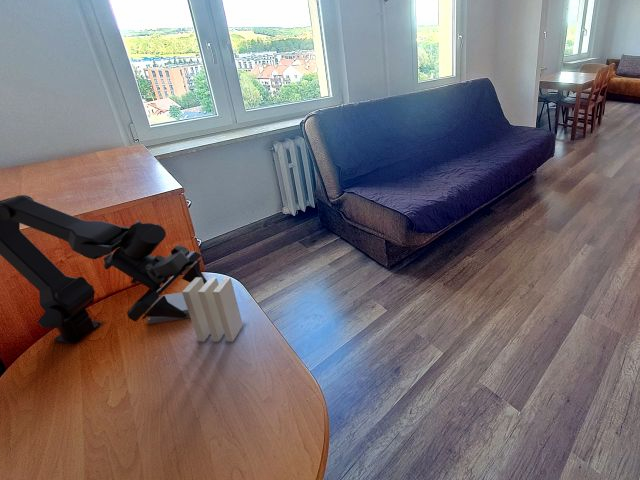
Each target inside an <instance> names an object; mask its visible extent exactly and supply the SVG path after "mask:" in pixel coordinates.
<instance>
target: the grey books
mask: <svg viewBox="0 0 640 480" xmlns="http://www.w3.org/2000/svg"><path fill="white" fill-rule="evenodd" d="M163 296H165V297H166V299H167V301H168V302H169V303H170V304H172V305H173V306H175V307H177V308H178V309H180V310H182V311H183V312H184V313H185V314H187V316H186V317H185V318H173V317H148V319H147V323H148V325H150V324H159V323H163V322H171V321H176V320H177V321H178V320H182V319H189V318H190V315H189V312H188V309H187V306H186V303H185V300H184V297H183V294H182V291H181V292H174V293H168V294H162V295H161V296H160V297H159V298H160V299H161V298H162V297H163ZM190 319H191V318H190Z"/></svg>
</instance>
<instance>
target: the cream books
mask: <svg viewBox="0 0 640 480" xmlns="http://www.w3.org/2000/svg"><path fill="white" fill-rule="evenodd" d="M198 294H199V298H200V301H201V304H202V307H203V311H204V314H205V317H206V320H207V324H208V327H209V330H210V337H211V340H212V342H220V341H221V339H222V338H223V336H224V338H225V340H226V342H234V340H235V339H236V337H238V334H239V332H240V331H241V329H242V328H243V327H244V326H243V325H244V324H243V320H242V316H241V312H240V308H239V304H238V301H237V297H236V293H235V289H234V285H233V282H232V278H231V277H223V279H222V280H221V281H220V282H219V281H218V278H217V277H213V276H212V277H211V276H210V277H209V278H208V280H207V282H206V283H205V284H204V285H203V287H202V288H201V289H200V290H199V291H198Z"/></svg>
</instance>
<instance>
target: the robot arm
mask: <svg viewBox="0 0 640 480" xmlns="http://www.w3.org/2000/svg"><path fill="white" fill-rule="evenodd" d="M21 225H24V226H26V227H29V228H31V229H34V230H37V231H39V232H42V233H45V234H47V235H50V236H53V237H55V238H57V239H60V240H63V241H65V242H67V243H68V244H69V246H70V249H71V251H73V252H75V253H77V254H79V255H81V256H83V257H84V258H88V259H89V260H97V259H100V258H103V262H104V263H103V267H104V269H105V270H109V269H110V268H112V267H114V268H115V269H117V270H118V271H120V272H122V273H124V274H125V275H127V276H128V277H129V278H131V281H130V283H132V284H133V285H135V284H137V283H139V284H141V285H143V286H144V287H145V288H147V291H146V292H144V294H143V295H142V296H141V297H139V299H137V301H135V303H134V304H132V306H131V307H130V308H129V310H127V311H126V315H127V317H128V319H130V320H131V321H133V322H135V323H136V322H137V321H138V320H139V319H140V318H141V317H142V318H141V319H142V320H145V319H146V318H147V317H148V318H149V317H173V318H184V319H186V318H185V317H186V316H187V314H185V313H184V312H183V311H182V310H180V309H178V308H177V307H175V306H173V305H172V304H170V303H169V302H168V301H167V299H166V297H165V296H163V297H162V296H161V297H162V298H161V297H160V295H161V294H162V293H163V292H164V291H165V290H166V289H167V288H168V287H169V286H170V285H172V283H173V282H174V281H176V279H177V278H179V276H182V277H181V279H182V280H184V281H186V282H188V283H189V284H190V283H191V282H192V281H193V280H194V279H195V278H196V277H202V279H203V282H204V284H205V283H206V282H207V281H208V280H207V279H206V278H205V276H204V274H203V273H202V270H201V268H200V267H201V265H200V264H201V262H202V259H200V258H202V254H200V253H199V252H197V251H195V250H194V251H193V250H191V251H190V250H189V249H188V248H187V247H186V246H183V245H181V244H178V245H176V246H174V247H173V248H172V249H171V250H170V254H169V255H167V256H166V257H165V256H163V255H161V254H160V255H159V254H157V255H156V256H154V255H152V253H154V251H155V250H156V249H157V248H158V246H160V244H161V243H162V242H163V241H164V240H165V239H166V237H167V236H166V235H167V233H166V230H165V229H164V227H162V226H161V225H160V224H156V223H152V222H145V223H143V222H141V221H140V220H137V221H136V222H135V223H133V224H131V225H130V226H129V227H128V226H122V225H117V224H114V223H110V222H106V221H102V220H85V219H81V218H79V217H76V216H73V215H72V214H68V213H66V212H63V211H61V210H58V209H56V208H53V207H51V206H48V205H45V204H43V203H41V202H38V201H36V200H35V199H33V198H32V197H31V196H29V195H26V194H20V195H18V194H17V195H15V196H11V197H8V198H4V199H1V200H0V256H1V257H2V258H4V260H5V261H6V262H7V263H8V264H10V266H11V267H13V268H14V269H15V270H16V271H17V272H18V273H19V274H20V275H21V276H22V277H23V278H25V279H26V280H27V281H28V282H29V283H30V284H31V285H32V286H33V287H34V288H35V289H36V290H37V291H38V292H39V293H38V294H39V306H40V307H41V309H42V310H43V311H44V312H43V314H41V316H40V318H39V319H38V320H37V323H38V324H39V325H40V326H41V327H42V328H43V329H57V330H58V332H59V335H57V336H55V337H54V338H53V341H55V342H58V343H62V344H63V343H65V344H70V345H76V344H78V343H79V342H81V340H83V339H84V338H85V337H87V336H88V335H89V334H91V333H92V332H93V331H95V330H96V329H97V328H98V327H100V326H102V322H101V321H95V320H92V318H91V316H90V314H89V312H88V310H87V308H88V306H90V305H91V304H93V303H94V302H95V294H96V291H95V288H94V286H93V285H92V284H90V282H88V281H87V280H86V278H85V277H83V276H78V277H73V276H68V275H65V274H64V273H63V271H62V270H61V269H60V268H58V266H56V264H54V263H53V262H52V260H50V259H49V258H48V257H47V255H46V254H44V253H43V252H42V251H41V250H40V249H39V248H38V246H36V245H35V244H34V243H33V242H32V241H31V240H30V239H29V238H28V237H27V236H26V235H25V234H24V233H23V232H22V231H21V229H20V226H21ZM160 298H161V299H160Z"/></svg>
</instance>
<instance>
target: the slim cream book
mask: <svg viewBox="0 0 640 480" xmlns="http://www.w3.org/2000/svg"><path fill="white" fill-rule="evenodd" d="M203 285H204V282H203V279H202V277H196V278H195V279H194V280H193V281H192V282H191V283H190V282H189V283H188V284H187V286H186V287H185V288H184V289H183V290H182V291H181V292H182V294H183V297H184V300H185V303H186V306H187V309H188V312H189V315H190V321H191V323H192V327H193V330H194V333H195V336H196V339H197V342H205V341H206V340H207V339H208V337H209V336H210V335H211V333H210V330H209V327H208V324H207V320H206V317H205V314H204V311H203V307H202V304H201V301H200V298H199V294H198V291H199V290H200V289H201V288H202V287H203Z"/></svg>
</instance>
